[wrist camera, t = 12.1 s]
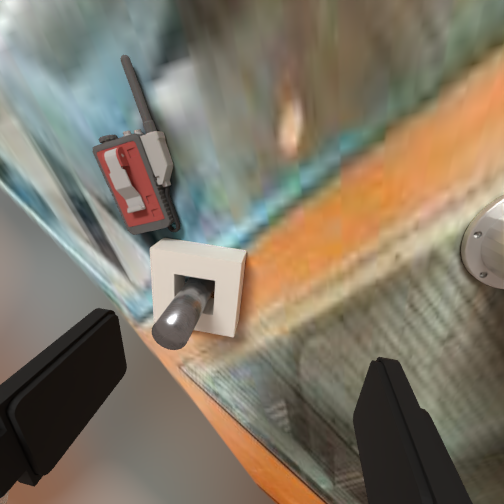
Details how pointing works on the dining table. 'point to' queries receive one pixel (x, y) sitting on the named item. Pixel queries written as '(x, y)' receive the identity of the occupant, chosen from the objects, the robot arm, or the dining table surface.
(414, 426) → the robot arm
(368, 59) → the dining table surface
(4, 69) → the dining table surface
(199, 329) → the socket block
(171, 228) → the walkie-talkie
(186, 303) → the peg
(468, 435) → the dining table surface
